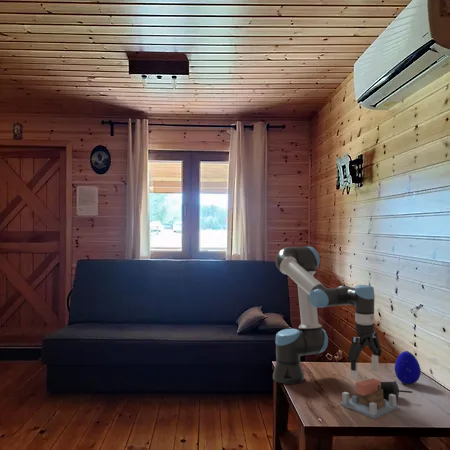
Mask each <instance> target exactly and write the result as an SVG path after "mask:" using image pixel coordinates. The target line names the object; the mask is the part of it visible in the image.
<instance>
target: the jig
mask: <svg viewBox="0 0 450 450" xmlns="http://www.w3.org/2000/svg"><path fill="white" fill-rule="evenodd" d="M341 396H342V397H341V398H342V399H341V400H342V401H341V402H340V406H342V407H345V408H348V409H350V410H353V411H355V412H357V413H359V414H361V415H365V416H367V417H368V418H371V419H374V420H375V419H377V418H380V417H382V416H384V415H385V414H387V413H390V412H392V411H395V410H397V409H399V405H398V404H397V400H396V395H394V394H390V395H389V398H388V401H387V398H386V399H385V398H383V402H384V407H382V408H380V409H377V403H374V402H371V403H369V406H367V405H364V404H361V403H359V402H358V397H357V396H356V395H351V398H350V393H349V392H347V391H343V392H342V393H341Z"/></svg>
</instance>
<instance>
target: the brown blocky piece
mask: <svg viewBox="0 0 450 450" xmlns="http://www.w3.org/2000/svg"><path fill="white" fill-rule="evenodd" d="M355 396H357V397H358V402H359V403H361V404H364V405H367V406H369V403H371V402H374V403H377V409H380V408H382V407H384V402H383V399H384V397H383V389H381V386H380V385H377V391H375V393H372V394H368V395H365V396H363V395H361V394H358V393H356V392H355Z"/></svg>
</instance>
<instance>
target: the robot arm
mask: <svg viewBox="0 0 450 450" xmlns="http://www.w3.org/2000/svg"><path fill="white" fill-rule="evenodd" d="M320 261H321V260H320V255H319V252H318V251H317V250H316V249H315V248H314V247H312V246H306V245H305V246H293V247H292V246H286V247H284V248H281V249H280V250H279V251H278V252H277V254H276V256H275V266H276V268H277V269H278V270H279V272H281V273H282V274H283V275H286V276H288V277H289V278H290V279H291V280H292V281H293V282H294V283H295V284H296V285H297V294H298V304H299V305H298V306H299V313H300V314H299V315H300V324H299V326H298V329H297V328H284V329H281V330H280V331H278V332H276V334H275V343H274V344H275V356H276V357H275V358H276V359H275V362H276V363H275V366H274V369H273V370H274V371H273V373H272V380H273V381H275V382H276V383H279V384H284V385H296V384H300V383H303V382H304V381H305V374H304V371H303V368H302V365H301V357H303V356H309V355H318V354H320V353H324V352H325V351H326V349H327V347H328V345H329V337H328V334H327V332H326V330H325V329H324V328H323V325H322V324H320V323H319V319H318V317H319V316H318V308H321V309H322V308H329V307H337V306H348V305H349V306H352V307H354V309H355V310H354V312H355V313H354V316H355V318H354V321H355V324H354V326H355V328H354V329H355V332H356V333H357V336H352V337H351V344H350V347H349V351H348V354H347V359H346V361H348V362H350V371H351V375H350V376H351V378H352V379H356V380H358V379H359V362H358V360H359V358H360V355H361V353H362V351H363V349H365V347H368V348H369V349H370V351H371V353H372V354H371V370H372V371H374V372H379V356H380V357H381V356H382V353H383V351H382V347H381V344H380V340H379V338H378V332H375V324H374V323H375V297H376V295H375V289H374V286H372V285H368V284H357V285H356V286H355V287H351V286H348V285H340V286H338V287H331V288H327V287H326V286H325V285H323V284H322V283H321V282H320V281H319V280H318V279H316V277H315V276H314V275H315V274H316V273H317V270H316V269H317V268H319V266H320Z"/></svg>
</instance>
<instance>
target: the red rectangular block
mask: <svg viewBox="0 0 450 450" xmlns="http://www.w3.org/2000/svg"><path fill="white" fill-rule="evenodd" d="M381 382H382V381H381V380H379V379H377V378H373V377H372V378H369V379H364V380H361V381H360V380H359V381H357V382H355V394H356V393H358V394H361V395H363V396H365V395H368V394H372V393H375V391H377V385H380V386H381Z"/></svg>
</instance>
